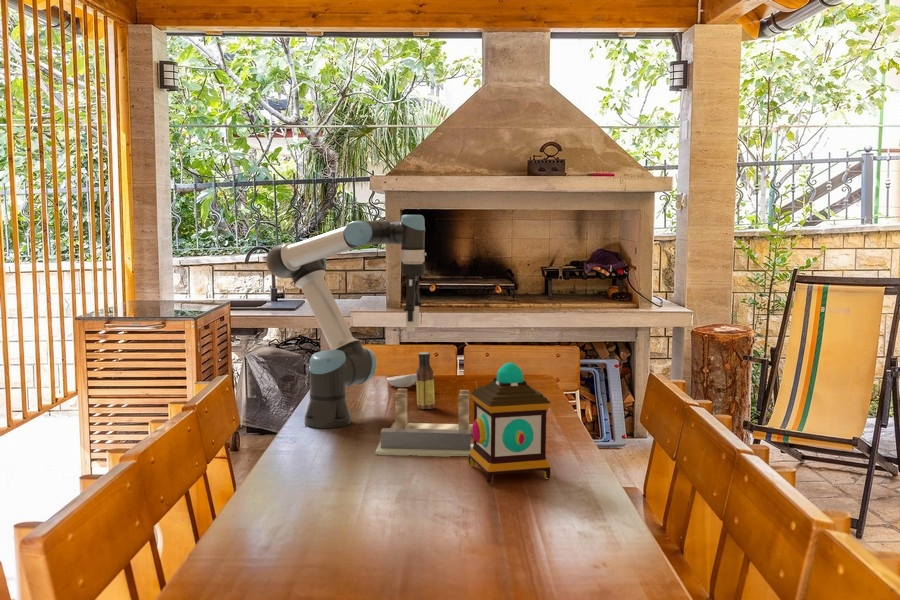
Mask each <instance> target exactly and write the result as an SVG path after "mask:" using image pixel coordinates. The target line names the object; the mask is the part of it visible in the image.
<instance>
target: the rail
mask: <svg viewBox="0 0 900 600" xmlns="http://www.w3.org/2000/svg"><path fill="white" fill-rule="evenodd" d="M380 442H381V448H382V449H423V450H463V451H470V449H471V444H472V434H471V430H443V429H400V428H391V427H384V428H383V427H382V428H381V430H380Z"/></svg>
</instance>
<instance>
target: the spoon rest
mask: <svg viewBox="0 0 900 600" xmlns="http://www.w3.org/2000/svg"><path fill="white" fill-rule="evenodd" d="M416 379H417V377H416V373H412V374H408V375H396V376H390V377H387V378H386V381H387V383H388V384H389V385H391V386H393V387H394V386H395V387H394V388H396V387H409V386H410V387H412V386H413V385H414V384H416V383H415V382H416ZM410 387H409V388H410Z"/></svg>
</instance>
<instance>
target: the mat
mask: <svg viewBox="0 0 900 600" xmlns="http://www.w3.org/2000/svg"><path fill="white" fill-rule="evenodd" d="M473 446H474V443H471V449H470V451H463V450H423V449H382V448H381V441H380V442H379V444H378V445H377V448H376V449H375V452H374V455H375V456H376V455H377V454H378V455H379V456H381V455H382V456H409V455H413V457H414V456H415V455H417V456H419V457H450V456H469V454H470V452H471V450H472V448H473ZM378 455H377V456H378Z"/></svg>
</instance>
